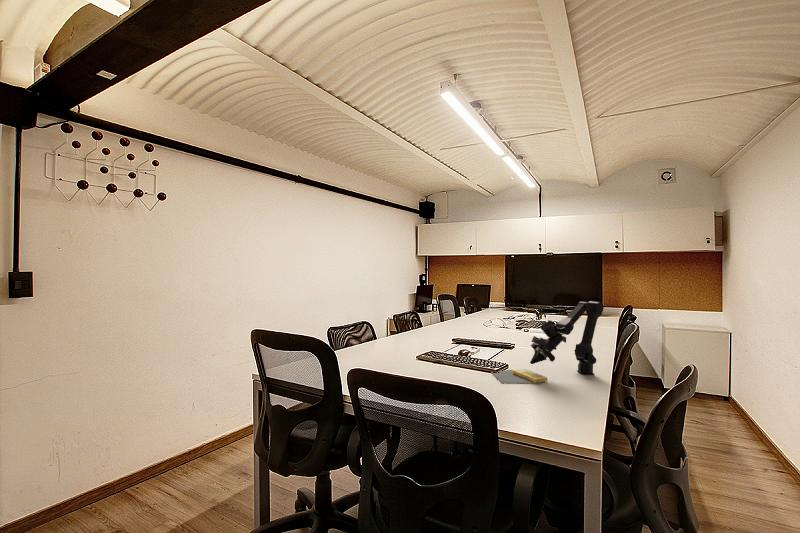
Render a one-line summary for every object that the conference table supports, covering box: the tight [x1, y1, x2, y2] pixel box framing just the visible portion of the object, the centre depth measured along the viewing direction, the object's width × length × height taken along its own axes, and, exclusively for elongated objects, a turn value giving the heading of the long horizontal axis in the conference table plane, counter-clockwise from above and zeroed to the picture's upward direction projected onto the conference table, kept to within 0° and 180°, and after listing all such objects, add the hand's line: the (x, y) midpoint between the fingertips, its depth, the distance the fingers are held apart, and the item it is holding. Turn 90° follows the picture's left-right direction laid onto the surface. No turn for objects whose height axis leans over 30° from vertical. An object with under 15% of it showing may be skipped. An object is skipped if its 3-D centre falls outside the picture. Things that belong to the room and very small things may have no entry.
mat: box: [490, 369, 542, 385], centre depth 200 cm, size 20×22×1 cm
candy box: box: [512, 368, 548, 383], centre depth 198 cm, size 16×2×8 cm
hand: (530, 363), depth 200 cm, fingers closed
